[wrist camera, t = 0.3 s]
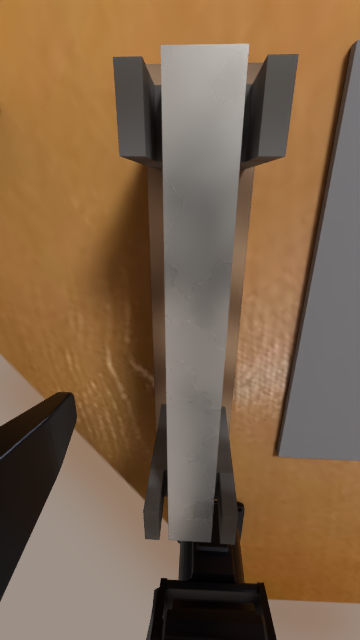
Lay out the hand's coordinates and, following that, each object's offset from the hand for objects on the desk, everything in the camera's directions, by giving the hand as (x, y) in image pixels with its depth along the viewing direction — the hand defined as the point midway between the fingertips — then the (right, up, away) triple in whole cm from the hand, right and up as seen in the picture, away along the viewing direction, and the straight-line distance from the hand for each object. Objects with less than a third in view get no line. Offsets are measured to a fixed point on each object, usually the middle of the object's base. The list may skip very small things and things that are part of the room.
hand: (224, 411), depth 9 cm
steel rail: (-1, +1, +6) cm, 6 cm away
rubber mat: (+11, +4, +12) cm, 17 cm away
